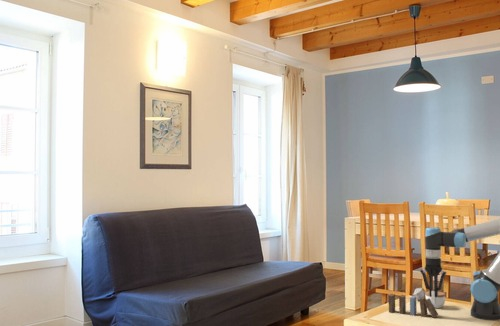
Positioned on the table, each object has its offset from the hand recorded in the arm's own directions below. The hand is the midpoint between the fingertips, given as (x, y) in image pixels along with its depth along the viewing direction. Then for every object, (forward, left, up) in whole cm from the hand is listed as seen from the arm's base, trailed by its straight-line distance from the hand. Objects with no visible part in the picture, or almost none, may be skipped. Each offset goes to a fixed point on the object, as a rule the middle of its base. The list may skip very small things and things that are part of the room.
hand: (433, 303), depth 266 cm
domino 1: (+22, 0, -7) cm, 23 cm away
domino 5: (-1, 0, -7) cm, 7 cm away
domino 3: (+10, 0, -7) cm, 13 cm away
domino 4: (+5, 0, -7) cm, 9 cm away
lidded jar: (+4, -22, -7) cm, 24 cm away
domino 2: (+16, 0, -7) cm, 18 cm away
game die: (+15, -33, -7) cm, 37 cm away
